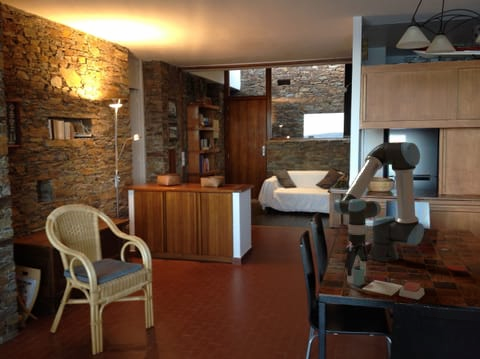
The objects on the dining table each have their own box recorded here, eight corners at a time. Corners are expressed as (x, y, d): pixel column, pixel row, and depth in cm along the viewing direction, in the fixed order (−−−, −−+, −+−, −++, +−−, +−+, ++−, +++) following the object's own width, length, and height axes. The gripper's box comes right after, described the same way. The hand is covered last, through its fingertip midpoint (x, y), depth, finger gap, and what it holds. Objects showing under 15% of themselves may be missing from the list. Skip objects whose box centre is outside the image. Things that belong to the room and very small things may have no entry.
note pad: (374, 281, 206) (375, 280, 206) (402, 286, 198) (402, 285, 198) (362, 289, 196) (362, 288, 196) (391, 295, 187) (391, 294, 187)
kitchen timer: (369, 241, 284) (369, 218, 282) (373, 247, 270) (373, 223, 268) (347, 241, 285) (347, 218, 283) (350, 247, 271) (350, 223, 270)
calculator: (345, 246, 258) (352, 240, 271) (345, 253, 259) (352, 246, 272) (364, 248, 253) (370, 241, 266) (364, 256, 254) (370, 248, 267)
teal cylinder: (353, 281, 207) (354, 263, 206) (364, 283, 204) (364, 265, 203) (349, 284, 203) (349, 266, 203) (359, 286, 200) (359, 267, 199)
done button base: (405, 290, 194) (405, 284, 193) (424, 294, 189) (424, 288, 188) (399, 295, 187) (399, 289, 187) (418, 299, 182) (418, 293, 182)
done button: (407, 285, 191) (408, 281, 191) (419, 288, 188) (419, 283, 188) (403, 288, 187) (404, 284, 187) (416, 291, 184) (416, 286, 184)
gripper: (360, 227, 213) (360, 270, 215) (336, 237, 194) (336, 284, 196) (375, 229, 209) (375, 273, 211) (352, 239, 190) (352, 287, 192)
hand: (356, 278), depth 204 cm, fingers open, 13 cm apart
